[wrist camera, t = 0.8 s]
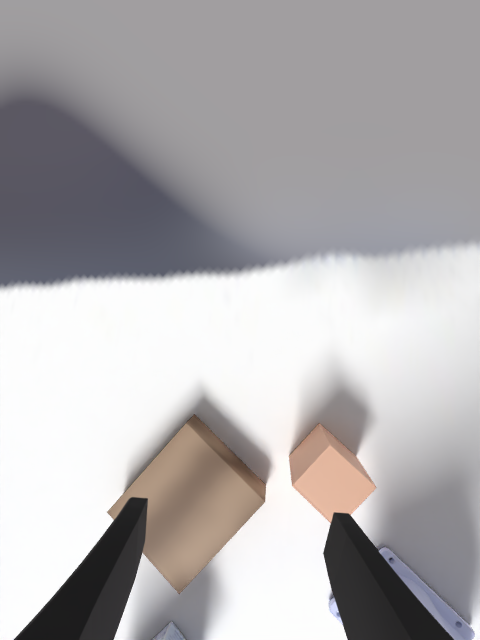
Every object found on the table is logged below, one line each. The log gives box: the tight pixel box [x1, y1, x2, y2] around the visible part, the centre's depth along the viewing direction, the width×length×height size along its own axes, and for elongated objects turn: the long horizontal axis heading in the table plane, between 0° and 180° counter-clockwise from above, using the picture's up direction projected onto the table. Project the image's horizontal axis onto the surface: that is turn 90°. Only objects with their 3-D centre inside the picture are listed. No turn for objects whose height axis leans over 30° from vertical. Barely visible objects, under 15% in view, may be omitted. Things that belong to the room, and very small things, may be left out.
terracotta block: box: [289, 423, 376, 523], centre depth 22 cm, size 4×4×5 cm
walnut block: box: [107, 414, 266, 594], centre depth 25 cm, size 10×12×3 cm
